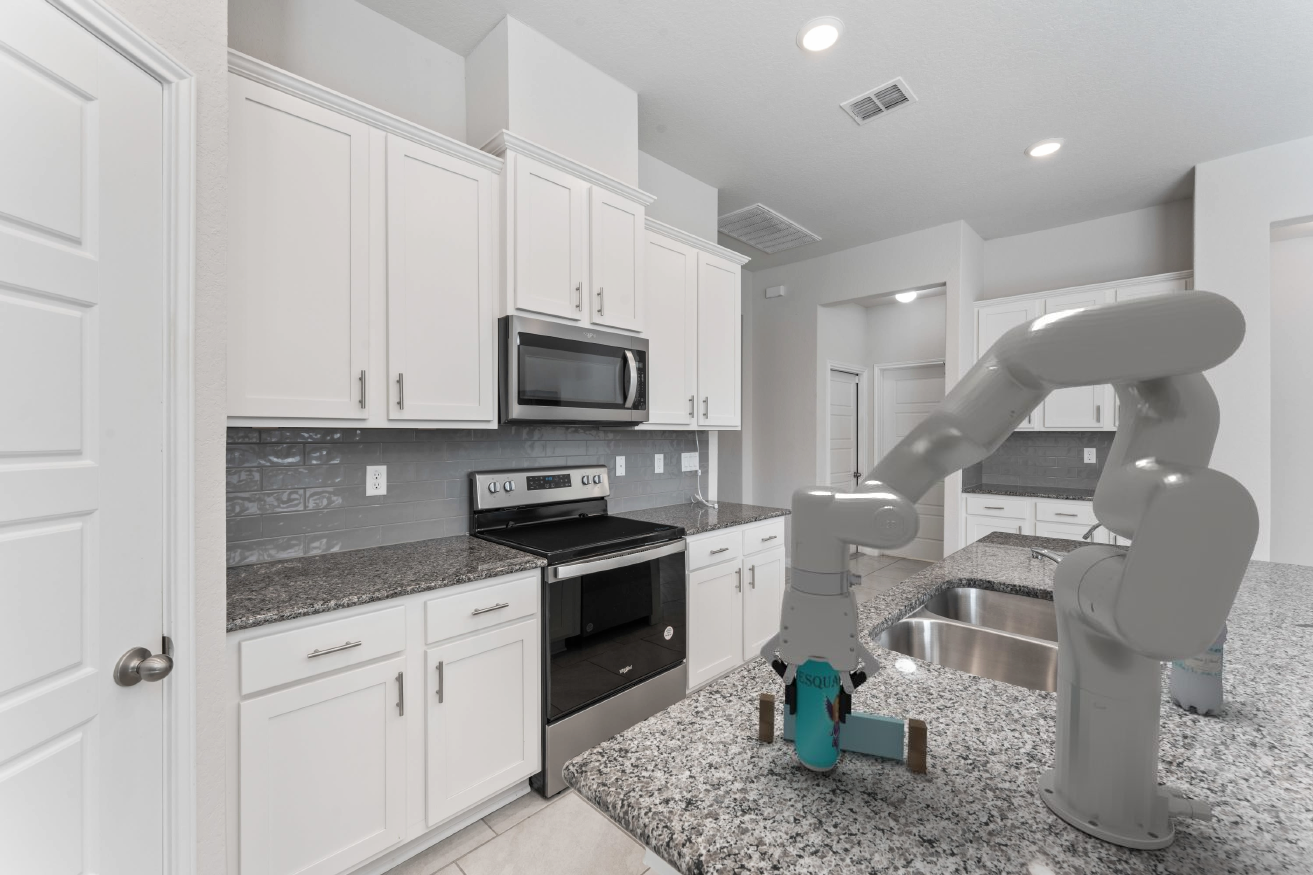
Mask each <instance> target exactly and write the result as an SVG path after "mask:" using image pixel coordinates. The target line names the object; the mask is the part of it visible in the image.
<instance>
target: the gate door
mask: <svg viewBox="0 0 1313 875" xmlns="http://www.w3.org/2000/svg"><path fill="white" fill-rule="evenodd" d="M782 730H783V736H782V738H783V739H787V740H792V741H795V714H794V715H790V705H786V704H785V699H784V701H783V726H782ZM904 746H905V721H904V719H903V718H897V717H890V716H884V715H878V714H873V713H872V714H871V713H866V712H859V711H853V710H851V715H848V714H846V724H843V723H842V722H840V749H841V750H846V751H852V752H856V753H863V754H868V755H873V756H879V757H885V758H888V759H894V760H895V759H896V760H900V761H904V760H905V758H904V755H905V754H904V753H905V752H904V751H905V748H904Z"/></svg>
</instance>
